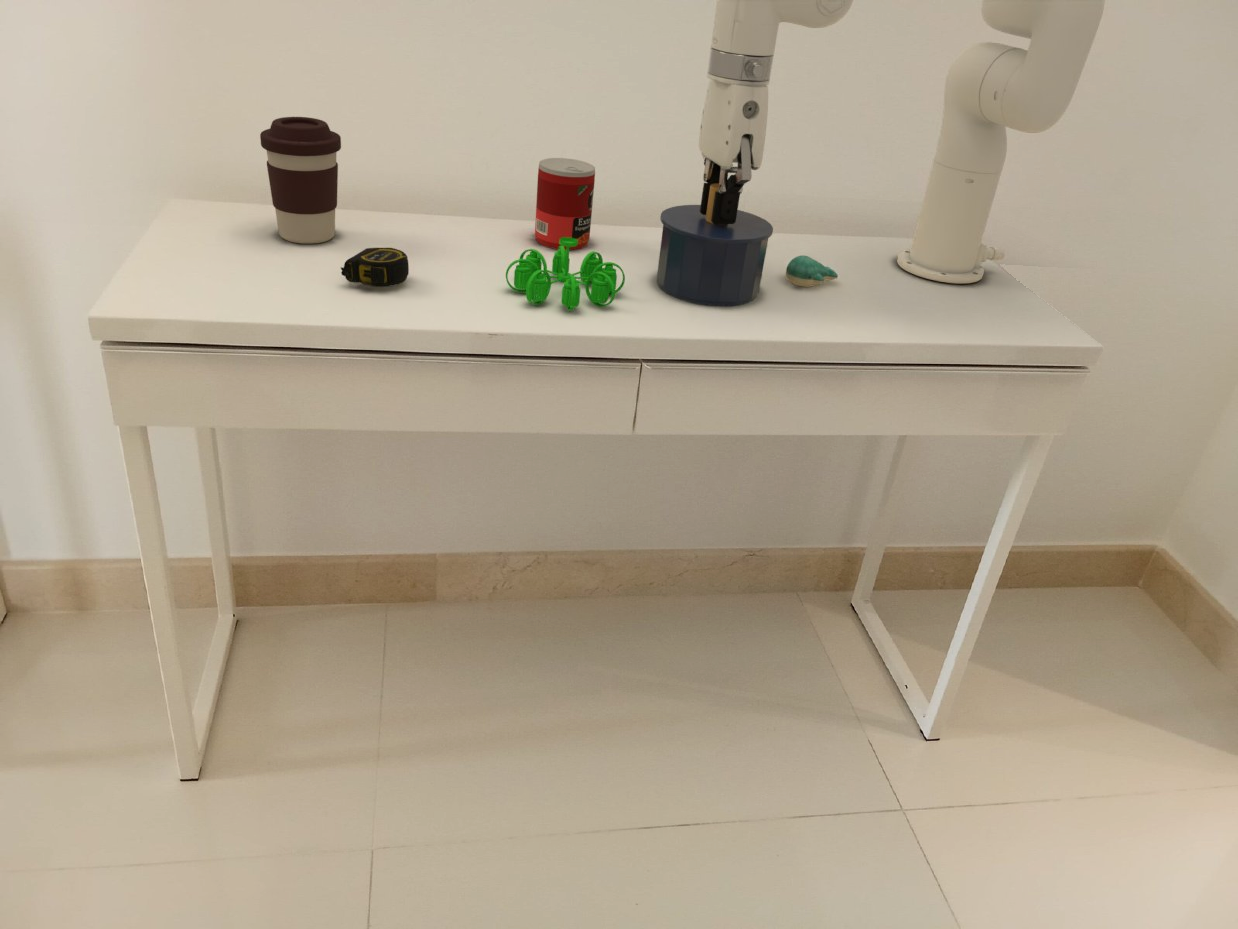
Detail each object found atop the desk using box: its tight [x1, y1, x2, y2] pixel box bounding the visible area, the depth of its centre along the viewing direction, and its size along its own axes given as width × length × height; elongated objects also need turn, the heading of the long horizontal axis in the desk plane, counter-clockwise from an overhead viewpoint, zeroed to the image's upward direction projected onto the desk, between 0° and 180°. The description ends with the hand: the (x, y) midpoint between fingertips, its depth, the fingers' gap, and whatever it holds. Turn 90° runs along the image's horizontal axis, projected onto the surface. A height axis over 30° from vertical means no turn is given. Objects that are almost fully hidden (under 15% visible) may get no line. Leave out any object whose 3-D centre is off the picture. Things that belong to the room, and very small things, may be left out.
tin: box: [656, 224, 769, 308], centre depth 130 cm, size 14×14×8 cm
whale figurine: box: [785, 254, 839, 288], centre depth 137 cm, size 6×7×4 cm
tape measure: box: [340, 247, 410, 288], centre depth 121 cm, size 7×7×4 cm
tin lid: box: [659, 183, 774, 243], centre depth 127 cm, size 15×15×6 cm
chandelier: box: [505, 237, 626, 312], centre depth 124 cm, size 15×15×7 cm
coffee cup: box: [259, 116, 342, 244], centre depth 131 cm, size 10×10×15 cm
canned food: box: [534, 157, 596, 251], centre depth 140 cm, size 8×8×11 cm
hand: (717, 217), depth 128 cm, fingers closed on tin lid, 3 cm apart
